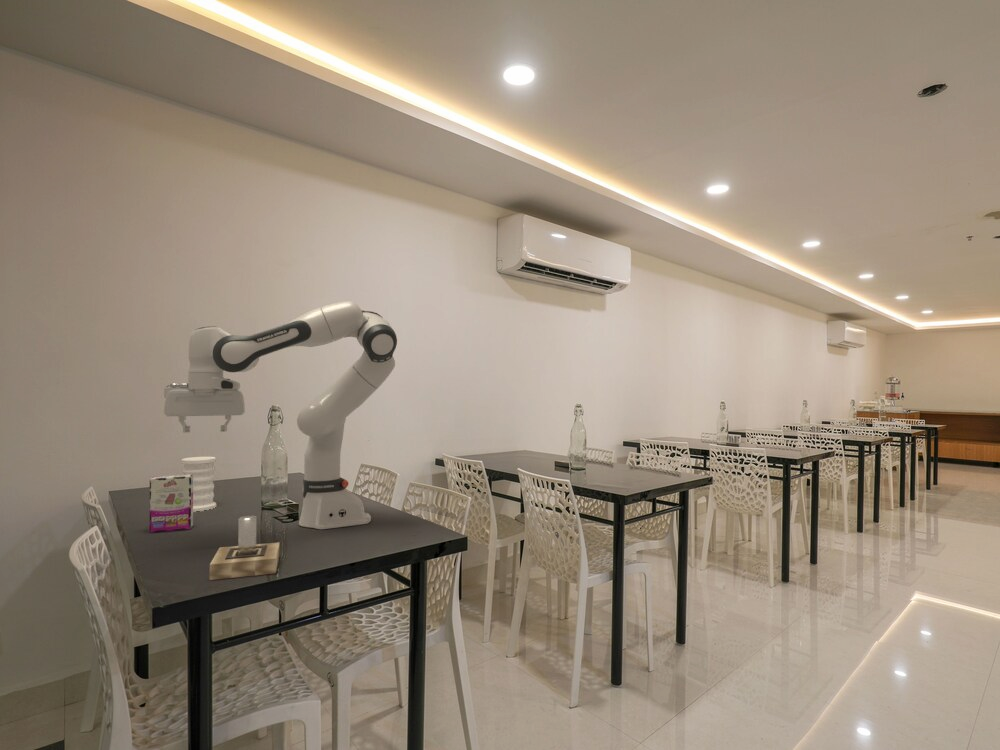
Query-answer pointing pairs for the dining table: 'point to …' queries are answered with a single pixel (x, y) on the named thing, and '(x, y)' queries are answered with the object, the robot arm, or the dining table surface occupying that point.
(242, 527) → the aluminium pin
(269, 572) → the socket block
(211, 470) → the decorative container
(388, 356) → the robot arm
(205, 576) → the dining table surface
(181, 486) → the candy bar box
